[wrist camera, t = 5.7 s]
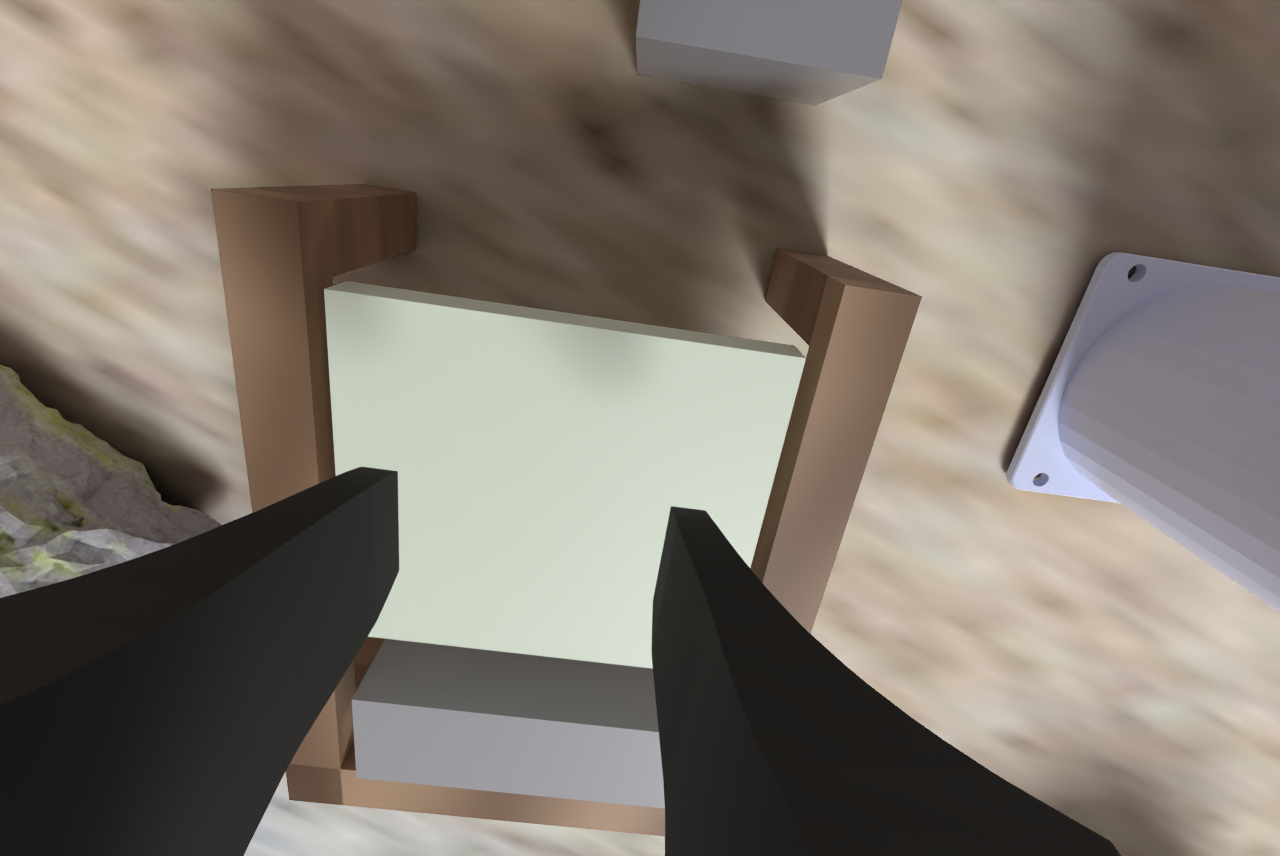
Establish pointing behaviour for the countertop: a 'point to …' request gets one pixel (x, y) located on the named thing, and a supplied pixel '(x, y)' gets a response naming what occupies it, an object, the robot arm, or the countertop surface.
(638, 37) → the stone
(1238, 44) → the countertop surface
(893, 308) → the trapdoor frame
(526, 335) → the trapdoor
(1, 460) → the mineral specimen
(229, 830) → the robot arm
